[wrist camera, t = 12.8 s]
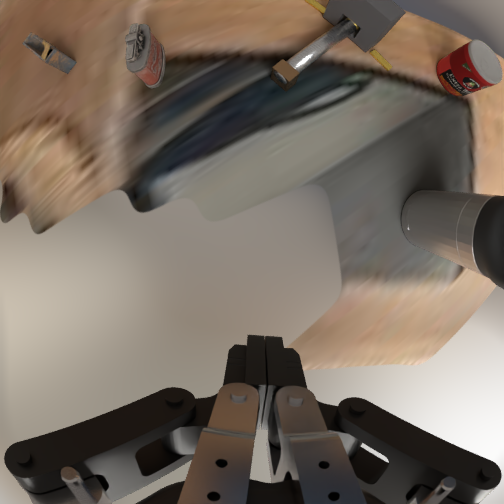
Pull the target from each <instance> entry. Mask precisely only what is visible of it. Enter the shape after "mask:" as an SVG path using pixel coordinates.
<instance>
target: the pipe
mask: <svg viewBox="0 0 504 504" xmlns="http://www.w3.org/2000/svg"><path fill="white" fill-rule="evenodd" d="M305 1H306V2H307V3H309V4H310V5H311V6H313V7H314V8H316V9H317V10H318V11H320V12H321V13H322V14H324V13H325V10H326V8H325V7H323V6H322V5H321V4H319V3H318V2H316V1H315V0H305ZM359 28H360V27H359V26H357V25H356V24H355V23H354V22H353V21H351V20H350V19H349V18H347V19H345V20H343V21H342V22H340V23H339V24H337V25H336V26H334V27H333V28H331V29H330V30H328V31H327V32H326V33H324V34H323V35H321V36H320V37H318V38H317V39H316V40H314V41H313V42H311V43H310V44H309V45H307V46H306V47H305V48H303V49H302V50H301V51H299V52H298V53H297V54H295V55H294V56H293V57H291V58H290V59H289V60H288V61H285V60H284V59H282V60H281V61H280V62H278V63H277V64H276V65H275V66H273V67H272V74H271V79H272V80H273V81H274V82H275V83H277V84H278V85H279V86H280V87H281V88H282V89H283V90H285V91H288V90H289V89H290V88H291V87H292V86H293V85H295V84H296V81H297V79H298V76H299V73H300V72H301V71H302V70H304V69H305V68H306V67H307V66H309V65H310V64H311V63H312V62H314V61H315V60H316V59H318V58H319V57H320V56H322V55H323V54H324V53H325V52H327V51H328V50H329V49H331V48H332V47H334V46H335V45H336V44H338V43H339V42H340V41H342V40H343V39H345V38H346V37H347V36H349V35H350V34H352V33H353V32H355V31H356V30H357V29H359ZM370 54H371V55H372V56H373V57H374V58H375V59H376V60H377V61H378V62H379V63H380V64H381V65H382V66H383V67H384V68H385V69H386V70H387V71H388V70H389V69H391V68H392V66H391V65H390V64H389V63H388V62H387V61H386V60H385V59H384V58H383V57H382V56H381V55H380V54H379V53H378V52H377V51H376V50H375V49H374V50H373V51H372V52H370Z"/></svg>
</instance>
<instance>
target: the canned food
mask: <svg viewBox="0 0 504 504" xmlns="http://www.w3.org/2000/svg"><path fill="white" fill-rule="evenodd" d="M437 75H438V78H439V80H440V82H441V84H442V85H443V87H444V88H445V89H446V90H447V91H448V92H449V93H451V94H453V95H455V96H464V95H467V94H470V93H472V92H475V91H478V90H481V89H484V88H487V87H490V86H493V85H495V84H497V83H499V82H500V81H501V80H502V68H501V65H500V62H499V60H498V58H497V57H496V55H495V53H494V52H493V51H492V50H491V48H490V47H489V46H488V45H487V44H485V43H484V42H482V41H480V40H472V41H470V42H469V43H467V44H465V45H463V46H462V47H460V48H458V49H457V50H455V51H454V52H452V53H450V54H449V55H447V56H446V57H444V58H442V59H441V60H440V61H439V63H438V65H437Z"/></svg>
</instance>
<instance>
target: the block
mask: <svg viewBox="0 0 504 504" xmlns="http://www.w3.org/2000/svg"><path fill="white" fill-rule="evenodd" d="M405 13H406V12H405V11H404V10H403V9H401V8H400V7H399V6H398V5H397V4H396V3H395V2H393V1H392V0H329V3H328V5H327V8H326V10H325V13H324V15H323V17H324V18H325V19H326V20H328V21H329V22H330V23H331V24H333V25H334V26H336V25H337V24H339V23H340V22H342V21H343V20H345V19H347V18H349V19H350V20H351V21H353V22H354V23H355V24H356V25H357V26H359V27H360V28H359V29H357V30H356V31H355V32H353V33H352V34H350V35H349V36H347V37H348V38H350V39H351V40H352V41H353V42H354V43H355V44H356V45H358V46H359V47H360V48H361V49H362V50H363V51H364V52H367V51H368V50H369V49H370V48H372V47H373V46H374V45H376V44H377V43H378V42H379V41H380V40H381V39H382V38H383V37H384V36H385V35H386V34H387V33H388V31H389V30H390V29H391V28H392V27H393V26H394V25H395V24H396V23H397V22H398V20H399V19H400V18H401V17H402V16H403V15H404V14H405Z"/></svg>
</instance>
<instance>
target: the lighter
mask: <svg viewBox="0 0 504 504" xmlns="http://www.w3.org/2000/svg"><path fill="white" fill-rule="evenodd" d="M125 40H126V44H127V48H126V64H127V69H128V70H129V71H131V72H132V73H135V74H136V75H137V76H138V77H139V78H141V79H142V80H143V81H144V83H145V85H147V86H148V87H149V88H155V87H157V86H159V85H160V84H161V82H162V79H163V75H164V70H165V52H164V48H163V46H162V45H161V44H159V43H158V41H157V40H156V38H155V37H154V36H153V34H152V33H151V31H150V28H149V26H148V25H146V24H140V25H138V23H135V24H132V25H131V26H130V29H129V34H128V35H126V38H125Z"/></svg>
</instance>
